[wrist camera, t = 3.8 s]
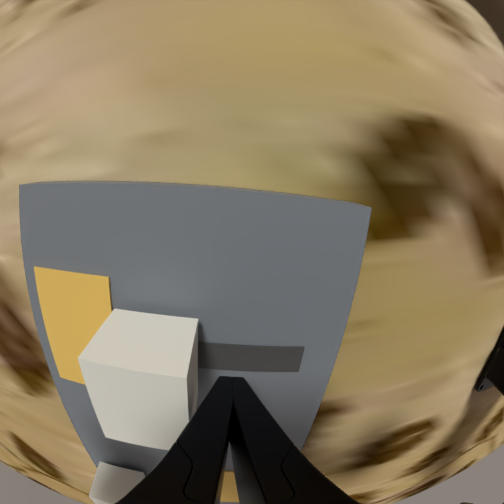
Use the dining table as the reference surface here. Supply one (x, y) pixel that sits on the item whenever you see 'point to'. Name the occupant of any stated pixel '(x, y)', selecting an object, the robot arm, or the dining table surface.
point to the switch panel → (194, 289)
